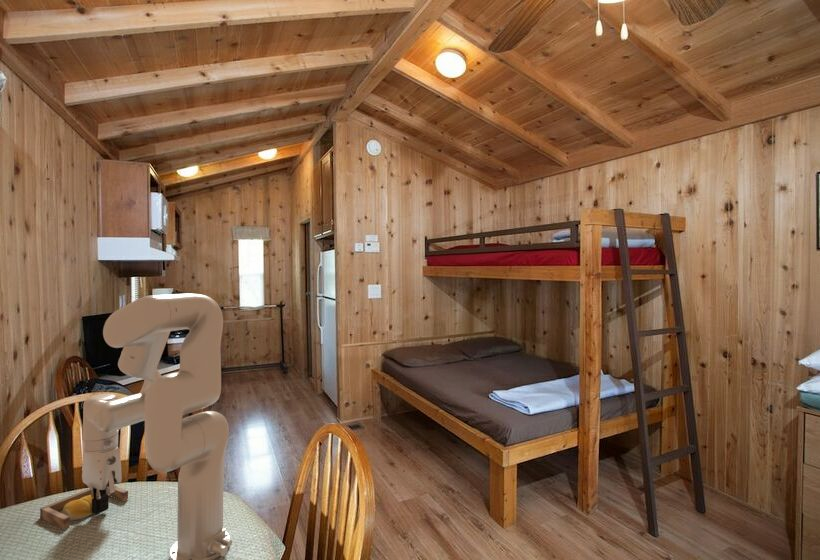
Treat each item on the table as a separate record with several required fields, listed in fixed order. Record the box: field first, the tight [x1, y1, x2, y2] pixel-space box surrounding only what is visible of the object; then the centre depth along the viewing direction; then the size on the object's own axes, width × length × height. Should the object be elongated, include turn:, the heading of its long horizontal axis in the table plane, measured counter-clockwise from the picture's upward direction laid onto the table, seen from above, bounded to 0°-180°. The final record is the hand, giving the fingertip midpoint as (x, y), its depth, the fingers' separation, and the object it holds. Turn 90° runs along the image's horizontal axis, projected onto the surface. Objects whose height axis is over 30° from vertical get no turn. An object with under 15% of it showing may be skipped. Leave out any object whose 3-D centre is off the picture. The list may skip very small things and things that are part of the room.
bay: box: [39, 485, 129, 530], centre depth 112 cm, size 11×15×2 cm
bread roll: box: [61, 495, 94, 522], centre depth 111 cm, size 8×9×4 cm
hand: (100, 511), depth 110 cm, fingers closed
